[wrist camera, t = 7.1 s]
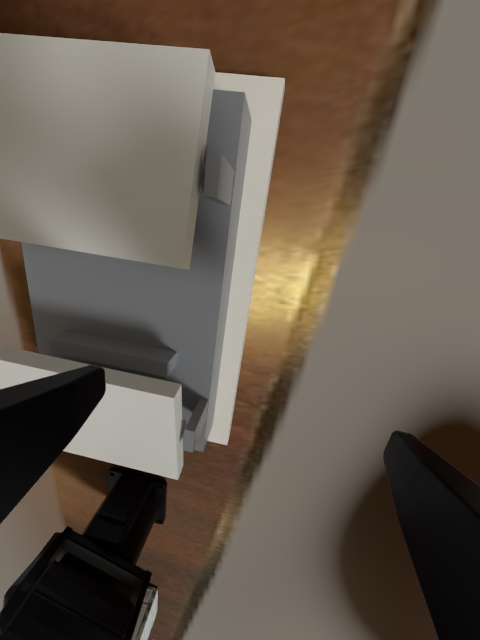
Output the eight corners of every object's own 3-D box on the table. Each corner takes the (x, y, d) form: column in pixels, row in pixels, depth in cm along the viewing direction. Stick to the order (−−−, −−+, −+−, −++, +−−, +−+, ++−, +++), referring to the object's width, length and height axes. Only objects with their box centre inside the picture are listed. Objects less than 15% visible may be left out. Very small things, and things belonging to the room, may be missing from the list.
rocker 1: (193, 270, 12) (181, 268, 10) (-10, 237, 13) (-48, 230, 11) (218, 84, 11) (209, 49, 9) (-8, 63, 12) (-51, 29, 10)
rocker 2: (186, 457, 18) (177, 480, 17) (49, 423, 19) (30, 442, 18) (185, 376, 14) (174, 398, 13) (10, 339, 15) (-18, 356, 14)
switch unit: (229, 435, 23) (209, 516, 17) (73, 399, 25) (-3, 460, 18) (284, 90, 15) (288, -34, 8) (37, 67, 16) (-138, -52, 9)
